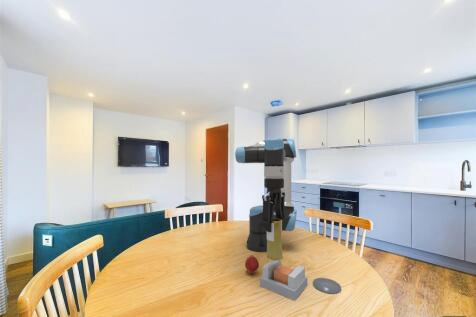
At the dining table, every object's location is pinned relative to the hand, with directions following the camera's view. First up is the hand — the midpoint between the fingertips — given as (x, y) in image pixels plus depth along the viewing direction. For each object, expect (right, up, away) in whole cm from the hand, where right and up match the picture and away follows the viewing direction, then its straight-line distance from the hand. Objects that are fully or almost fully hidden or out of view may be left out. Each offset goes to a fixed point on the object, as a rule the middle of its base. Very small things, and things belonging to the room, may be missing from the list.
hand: (274, 238), depth 80 cm
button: (+4, -16, 0) cm, 16 cm away
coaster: (+20, -19, 0) cm, 27 cm away
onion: (-8, -19, +9) cm, 23 cm away
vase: (0, -8, 0) cm, 7 cm away
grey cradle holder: (+4, -18, 0) cm, 19 cm away
